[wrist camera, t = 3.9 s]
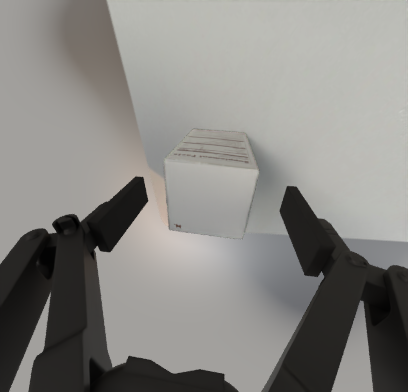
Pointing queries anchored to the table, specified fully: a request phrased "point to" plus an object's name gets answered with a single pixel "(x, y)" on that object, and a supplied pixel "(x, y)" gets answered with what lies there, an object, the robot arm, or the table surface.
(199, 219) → the white packaging box
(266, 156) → the table surface
